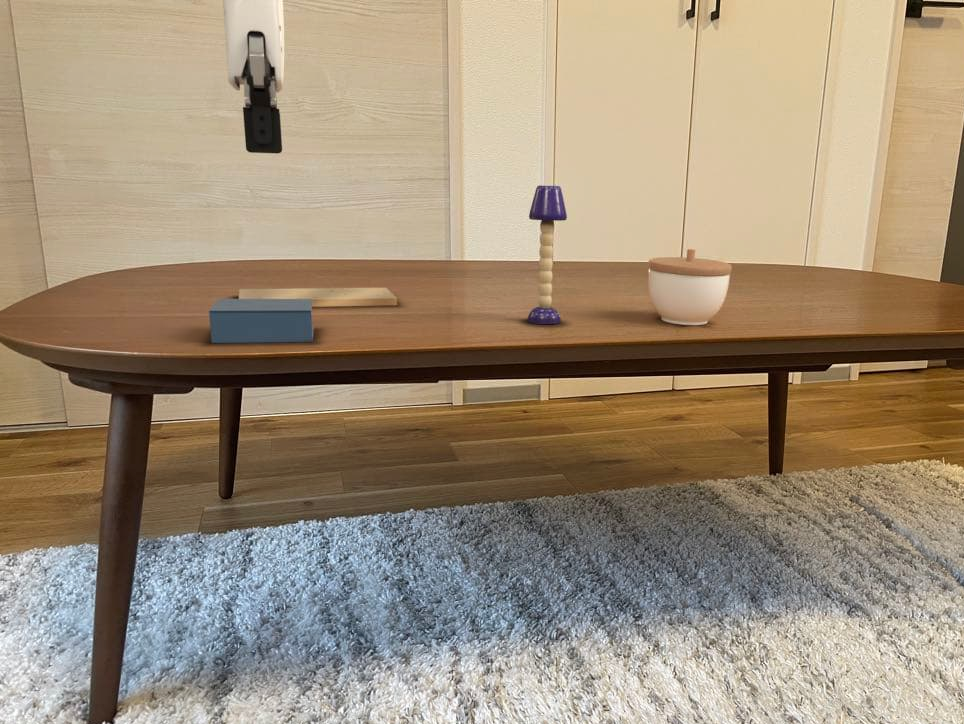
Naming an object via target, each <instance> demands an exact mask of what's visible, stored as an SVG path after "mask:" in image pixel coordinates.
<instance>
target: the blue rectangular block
mask: <svg viewBox="0 0 964 724" xmlns="http://www.w3.org/2000/svg"><path fill="white" fill-rule="evenodd" d="M312 303H313V299H239V298H218V299H217V300H216V301H215V302H214V303H213V305H212V306H211V307H210V309H209V310H208V316H209V328H210V339H211V344H240V343H241V344H254V343H255V344H257V343H258V344H259V343H313V341H314V332H315V331H314V330H315V326H314V325H313V320H312V319H313V318H312V317H313V316H312V315H313V314H312V309H313V307H312Z"/></svg>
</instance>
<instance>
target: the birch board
mask: <svg viewBox="0 0 964 724" xmlns="http://www.w3.org/2000/svg"><path fill="white" fill-rule="evenodd" d="M238 299H313V303H312V308H320V307H321V308H325V307H326V308H327V307H328V308H329V307H333V308H334V307H382V306H383V307H384V306H385V307H387V306H389V307H390V306H398V298H397V297H396V295H394V293H393V292H392V291H390V289H389V288H387V287H323V288H322V287H321V288H320V287H319V288H318V287H316V288H315V287H313V288H310V287H308V288H303V287H302V288H301V287H300V288H299V287H298V288H239V290H238Z"/></svg>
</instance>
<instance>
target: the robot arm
mask: <svg viewBox="0 0 964 724" xmlns="http://www.w3.org/2000/svg"><path fill="white" fill-rule="evenodd" d="M222 9H223V10H222V11H223V22H224V23H223V24H224V37H225V38H224V39H225V50H226V66H227V81H228V83H229V85H230V86H231V87H232V88H233V89H234V90H235V91H240V90H241V85H243V93H244V94H243V96H244V106H242V114H243V116H242V117H243V128H244V141H245V150H246V151H247V152H248V153H252V154H280V153H281V154H282V152H283V141H282V139H283V138H282V126H281V125H282V124H281V113H280V108H278V101H277V99H278V98H277V93H279V92H281V91H282V90H283V88H284V87H283V86H284V78H285V61H286V60H285V58H286V57H285V51H286V50H285V49H286V47H285V46H286V45H285V42H286V41H285V16H284V14H285V13H284V0H222Z"/></svg>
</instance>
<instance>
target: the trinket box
mask: <svg viewBox="0 0 964 724" xmlns="http://www.w3.org/2000/svg"><path fill="white" fill-rule="evenodd" d="M647 266H648V267H647V268H648V278H647V279H648V280H647V286H648V287H647V288H648V289H647V290H648V296H649V300H650V303H651V305H652V308H653V309H654V311H656V312H657V314H658V315H659V316H660V317H661V318H660V319H661V321H663V322H665V323H669V324H674V325H681V326H702V325H707V324H708V322H709V320H710V319H712V318H713V317H714V316H715V315H716V314H717V313H718V312H719V311H720V310H721V308H722V306H723V305H724V303H725V300H726V297H727V294H728V290H729V286H730V279H731V273H732V270H733V267H732V264H730V263H728V262H725V261H720V260H716V259H706V258H697V257H696V249H694V248H693V249H692V248H687V250H686V257H681V256H680V257H677V256H675V257H674V256H665V257H664V256H662V257H654V258H650V259H649V260H648V265H647Z"/></svg>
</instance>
